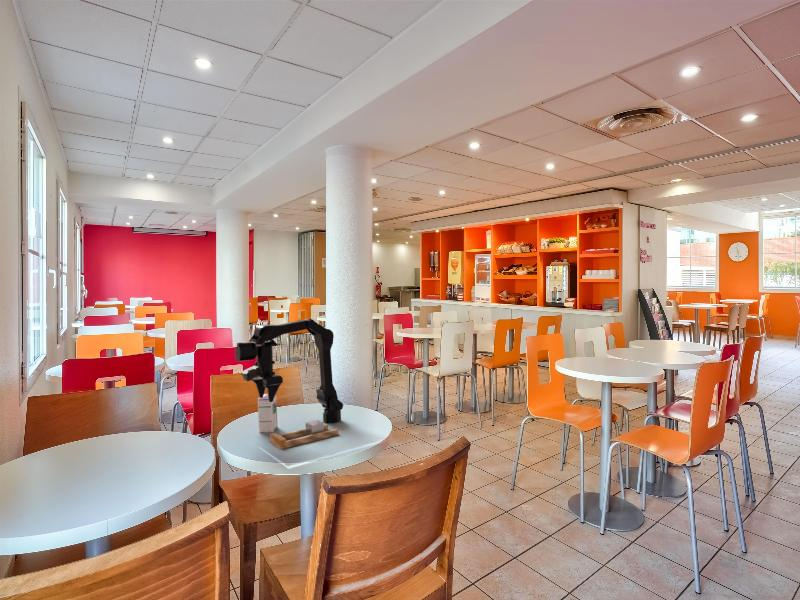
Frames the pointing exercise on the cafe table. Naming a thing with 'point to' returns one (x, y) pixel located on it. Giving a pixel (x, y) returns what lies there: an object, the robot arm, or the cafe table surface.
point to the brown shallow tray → (284, 443)
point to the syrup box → (267, 414)
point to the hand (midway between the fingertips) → (265, 399)
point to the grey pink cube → (314, 427)
